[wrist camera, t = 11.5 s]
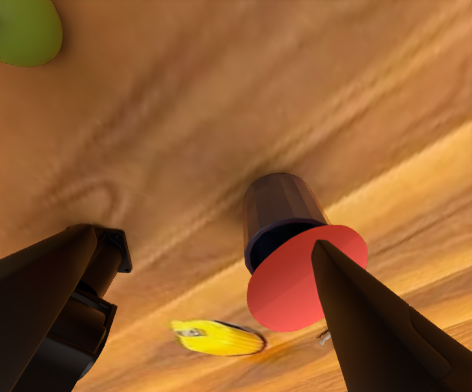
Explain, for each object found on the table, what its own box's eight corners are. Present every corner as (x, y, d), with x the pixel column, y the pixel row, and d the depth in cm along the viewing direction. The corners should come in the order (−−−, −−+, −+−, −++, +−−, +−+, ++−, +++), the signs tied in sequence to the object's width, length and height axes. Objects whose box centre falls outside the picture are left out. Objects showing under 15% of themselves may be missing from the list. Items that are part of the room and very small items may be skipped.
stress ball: (225, 238, 18) (219, 330, 15) (334, 202, 12) (365, 338, 9) (266, 252, 21) (269, 330, 18) (368, 228, 15) (400, 337, 12)
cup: (303, 233, 25) (326, 290, 19) (239, 229, 25) (240, 285, 19) (321, 175, 22) (356, 221, 15) (245, 170, 22) (249, 214, 15)
